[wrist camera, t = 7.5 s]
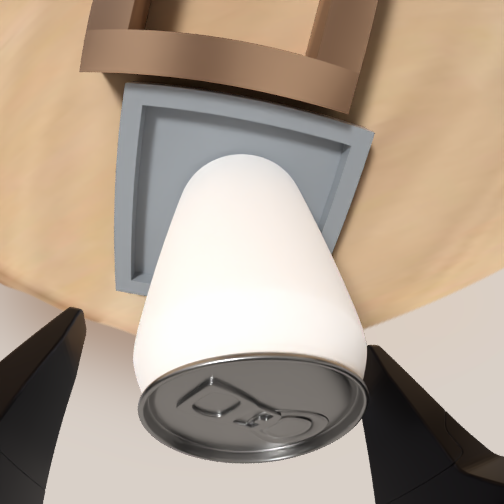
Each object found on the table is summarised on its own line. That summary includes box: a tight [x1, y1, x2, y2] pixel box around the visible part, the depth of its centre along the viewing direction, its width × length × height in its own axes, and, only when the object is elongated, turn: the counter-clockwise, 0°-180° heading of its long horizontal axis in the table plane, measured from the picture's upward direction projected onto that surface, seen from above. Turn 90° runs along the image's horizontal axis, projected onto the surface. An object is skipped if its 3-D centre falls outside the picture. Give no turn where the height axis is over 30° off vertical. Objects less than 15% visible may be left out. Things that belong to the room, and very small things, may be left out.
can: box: [133, 154, 369, 463], centre depth 12 cm, size 6×6×12 cm
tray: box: [114, 81, 375, 296], centre depth 17 cm, size 12×12×2 cm
